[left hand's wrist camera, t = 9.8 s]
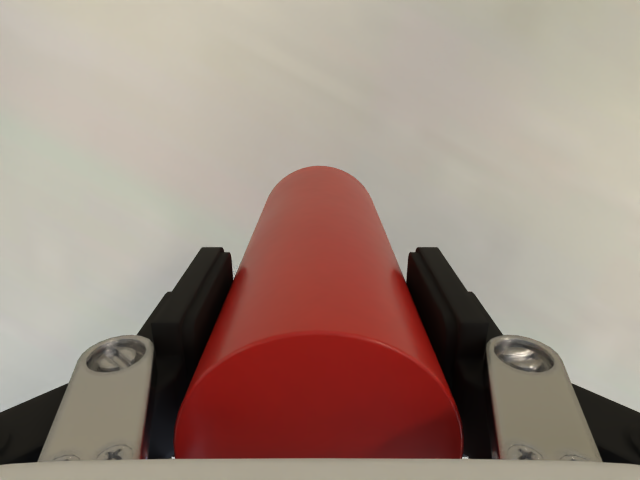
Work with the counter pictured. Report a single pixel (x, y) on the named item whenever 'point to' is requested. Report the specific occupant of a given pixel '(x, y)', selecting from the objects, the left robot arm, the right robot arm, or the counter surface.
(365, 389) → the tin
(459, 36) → the counter surface
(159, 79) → the counter surface
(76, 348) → the counter surface
